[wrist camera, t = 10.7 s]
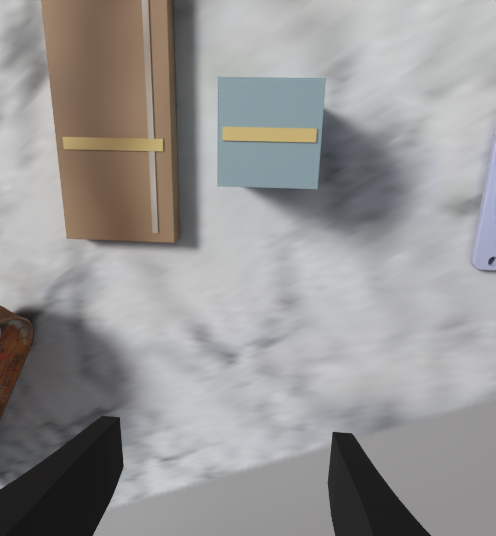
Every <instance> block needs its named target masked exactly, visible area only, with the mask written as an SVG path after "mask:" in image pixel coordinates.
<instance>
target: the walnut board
mask: <svg viewBox="0 0 496 536" xmlns="http://www.w3.org/2000/svg"><path fill="white" fill-rule="evenodd" d="M41 4H42V14H43V23H44V32H45V41H46V50H47V60H48V69H49V78H50V87H51V96H52V106H53V115H54V124H55V133H56V142H57V152H58V161H59V170H60V179H61V188H62V198H63V207H64V216H65V225H66V234H67V239H91V240H118V241H144V242H170V243H174V242H176V241H177V240H178V239H180V231H179V193H178V156H177V118H176V81H175V43H174V6H173V0H41Z"/></svg>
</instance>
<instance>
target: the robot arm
mask: <svg viewBox="0 0 496 536" xmlns="http://www.w3.org/2000/svg"><path fill="white" fill-rule="evenodd" d="M491 257H494V262H493V263H492V264H488V260H489V259H490V258H491ZM470 260H471V264H472V266H473V267H475V268H476V269H479V270H493V271H496V126H495V131H494V137H493V142H492V147H491V153H490V158H489V163H488V169H487V174H486V179H485V185H484V190H483V195H482V201H481V206H480V211H479V217H478V222H477V227H476V233H475V238H474V243H473V249H472V254H471V259H470ZM123 467H124V466H123V454H122V442H121V429H120V417H109V416H102V417H100V418H99V419H98V420H96V421H95V422H94V423H92V424H91V425H90V426H88V427H87V428H86V429H84V430H83V431H82V432H81V433H79V434H78V435H77V436H75V437H74V438H73V439H72V440H70V441H69V442H68V443H66V444H65V445H64V446H62V447H61V448H60V449H58V450H57V451H56V452H54V453H53V454H52V455H50V456H49V457H48V458H46V459H45V460H43V461H42V462H40V463H39V464H38V465H36V466H35V467H33V468H32V469H30V470H29V471H28V472H26V473H25V474H23V475H22V476H20V477H19V478H17V479H16V480H14V481H13V482H11V483H10V484H8V485H7V486H5V487H3V488H2V489H0V536H93V534H94V532H95V530H96V528H97V526H98V524H99V522H100V520H101V518H102V516H103V514H104V512H105V510H106V508H107V507H108V505H109V503H110V500H111V498H112V496H113V494H114V491H115V488H116V486H117V483H118V481H119V478H120V475H121V472H122V470H123ZM328 489H329V499H330V508H331V517H332V522H333V526H334V531H335V536H431V535H430V534H429V533H428V532H427V531H426V530H425V529H424V528H423V527H422V525H420V523H419V522H418V521H417V520H416V519H415V518H414V516H413V515H412V514H411V513H410V512H409V511H408V509H407V508H406V507H405V506H404V505H403V503H402V502H401V501H400V500H399V499H398V497H397V496H396V495H395V493H394V492H393V491H392V490H391V488H390V487H389V486H388V484H387V483H386V482H385V480H384V479H383V478H382V476H381V475H380V474H379V472H378V471H377V470H376V468H375V467H374V465H373V464H372V462H371V461H370V459H369V458H368V457H367V455H366V454H365V452H364V451H363V449H362V448H361V446H360V444H359V443H358V441H357V440H356V438H355V437H354V435H353V434H352V433H339V432H333V436H332V446H331V456H330V466H329V476H328Z"/></svg>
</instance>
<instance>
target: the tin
mask: <svg viewBox="0 0 496 536" xmlns="http://www.w3.org/2000/svg"><path fill="white" fill-rule="evenodd" d="M32 340H33V326H32V324H31V322H30V321H29V320H28V319H26V318H24V317H20V316H18V315H16V314H14V313H12V312H11V311H9V310H7V309H6V308H4V307H2V306H0V418H1V416H2V414H3V411H4V409H5V406H6V404H7V402H8V399H9V397H10V394H11V392H12V390H13V387H14V385H15V382H16V380H17V378H18V376H19V373H20V371H21V368H22V366H23V363H24V361H25V359H26V356H27V354H28V352H29V349H30V346H31V344H32Z"/></svg>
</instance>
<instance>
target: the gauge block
mask: <svg viewBox="0 0 496 536" xmlns="http://www.w3.org/2000/svg"><path fill="white" fill-rule="evenodd" d="M325 82H326V78H257V77H218V186H230V187H263V188H296V189H318V177H319V163H320V150H321V136H322V123H323V109H324V96H325Z"/></svg>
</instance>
